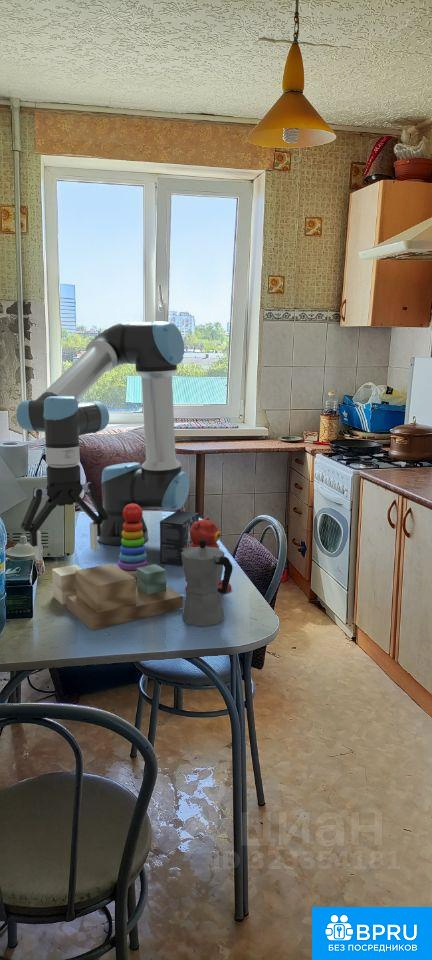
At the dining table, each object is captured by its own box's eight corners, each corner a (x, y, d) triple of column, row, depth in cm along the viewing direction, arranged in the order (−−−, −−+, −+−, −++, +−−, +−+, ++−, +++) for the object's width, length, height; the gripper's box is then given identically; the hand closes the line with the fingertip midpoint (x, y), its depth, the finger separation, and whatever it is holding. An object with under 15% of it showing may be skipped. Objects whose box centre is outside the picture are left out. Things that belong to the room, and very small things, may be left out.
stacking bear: (210, 602, 161) (210, 528, 158) (175, 594, 166) (173, 522, 163) (234, 588, 170) (234, 517, 167) (200, 581, 175) (199, 512, 172)
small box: (182, 566, 187) (182, 523, 184) (159, 564, 189) (158, 521, 187) (199, 552, 199) (199, 511, 197) (177, 550, 201) (176, 510, 199)
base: (152, 588, 170) (151, 553, 168) (183, 608, 158) (182, 570, 156) (66, 607, 158) (64, 570, 156) (92, 630, 146) (90, 589, 144)
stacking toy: (143, 580, 176) (141, 508, 172) (113, 578, 178) (110, 507, 174) (152, 570, 184) (150, 501, 180) (123, 568, 185) (121, 500, 182)
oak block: (77, 592, 168) (75, 564, 167) (86, 599, 164) (85, 571, 162) (53, 597, 165) (51, 568, 164) (62, 604, 160) (60, 576, 159)
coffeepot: (167, 615, 154) (165, 537, 150) (199, 604, 160) (198, 529, 156) (215, 637, 142) (214, 552, 139) (247, 624, 149) (247, 543, 145)
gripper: (13, 472, 148) (19, 567, 152) (120, 462, 162) (122, 549, 166) (3, 467, 154) (8, 559, 158) (107, 457, 168) (109, 542, 172)
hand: (67, 554), depth 162 cm, fingers open, 13 cm apart
